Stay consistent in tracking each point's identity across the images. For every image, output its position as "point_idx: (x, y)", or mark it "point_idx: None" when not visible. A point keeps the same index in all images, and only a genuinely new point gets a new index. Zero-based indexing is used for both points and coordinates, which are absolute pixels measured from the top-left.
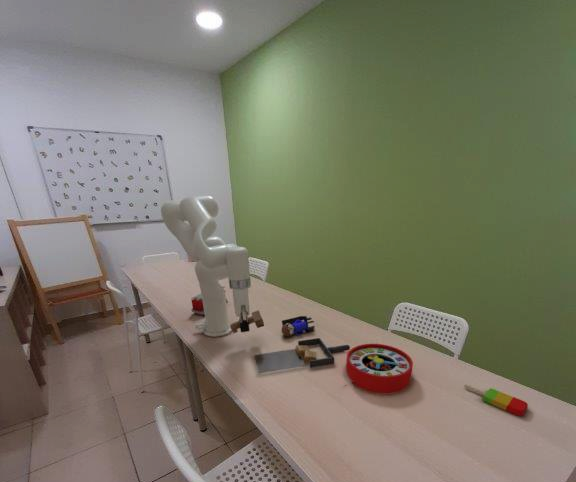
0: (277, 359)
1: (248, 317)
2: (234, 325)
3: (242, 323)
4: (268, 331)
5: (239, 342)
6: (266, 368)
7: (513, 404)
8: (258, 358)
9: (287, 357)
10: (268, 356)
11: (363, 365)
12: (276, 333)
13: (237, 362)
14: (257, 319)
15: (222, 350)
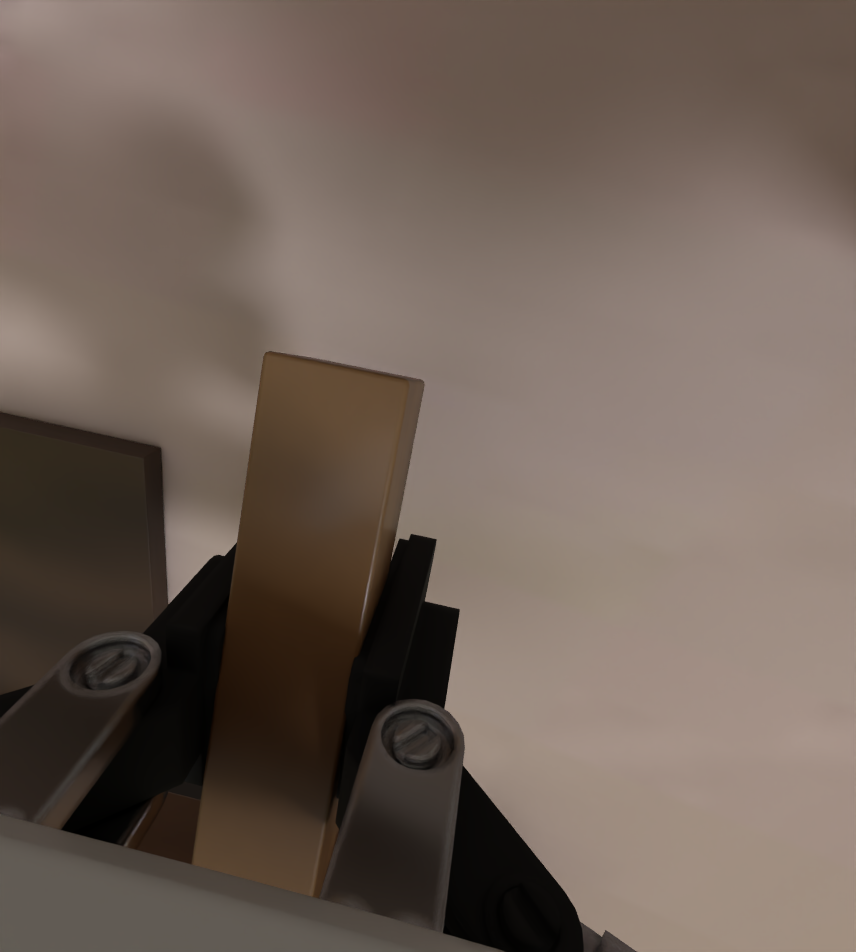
0: (27, 599)
1: (298, 863)
2: (253, 467)
3: (133, 650)
4: (643, 754)
5: (568, 412)
6: None
7: None
8: (69, 471)
9: (45, 670)
10: (87, 560)
11: None
12: (551, 784)
13: (101, 250)
14: None
15: (460, 124)
